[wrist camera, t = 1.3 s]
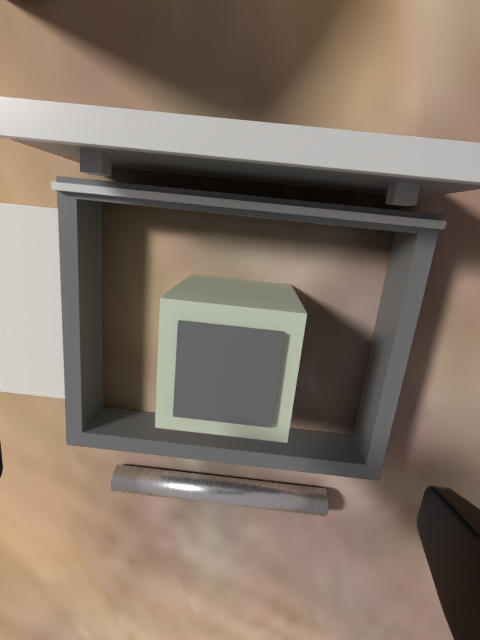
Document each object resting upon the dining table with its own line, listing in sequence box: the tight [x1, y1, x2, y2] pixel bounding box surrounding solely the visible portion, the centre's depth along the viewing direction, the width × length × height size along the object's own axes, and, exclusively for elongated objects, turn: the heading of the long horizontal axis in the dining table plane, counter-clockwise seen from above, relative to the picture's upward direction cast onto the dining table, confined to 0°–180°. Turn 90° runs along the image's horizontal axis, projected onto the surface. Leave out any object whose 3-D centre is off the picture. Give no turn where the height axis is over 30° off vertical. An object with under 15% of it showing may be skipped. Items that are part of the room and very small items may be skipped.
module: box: [155, 274, 307, 443], centre depth 15 cm, size 5×5×6 cm
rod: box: [111, 465, 328, 516], centre depth 20 cm, size 12×1×1 cm, turn 84°
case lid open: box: [0, 97, 480, 206], centre depth 13 cm, size 16×2×6 cm, turn 84°
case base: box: [51, 176, 447, 481], centre depth 17 cm, size 16×13×3 cm
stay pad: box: [0, 203, 65, 399], centre depth 18 cm, size 7×10×1 cm
